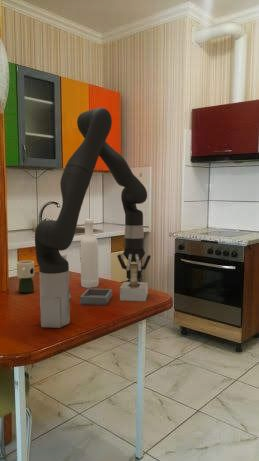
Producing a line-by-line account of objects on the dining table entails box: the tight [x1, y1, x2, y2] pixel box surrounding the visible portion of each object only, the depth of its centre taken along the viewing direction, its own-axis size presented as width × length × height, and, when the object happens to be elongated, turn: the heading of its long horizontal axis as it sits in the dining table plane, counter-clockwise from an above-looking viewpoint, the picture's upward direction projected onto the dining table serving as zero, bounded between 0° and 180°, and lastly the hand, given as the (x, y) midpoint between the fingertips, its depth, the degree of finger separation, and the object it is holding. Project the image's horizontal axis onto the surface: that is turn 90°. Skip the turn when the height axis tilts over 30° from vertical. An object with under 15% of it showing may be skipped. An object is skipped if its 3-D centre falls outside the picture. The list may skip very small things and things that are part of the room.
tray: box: [79, 288, 113, 306], centre depth 145 cm, size 12×10×3 cm
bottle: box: [79, 218, 100, 289], centre depth 167 cm, size 8×8×30 cm
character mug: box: [16, 260, 36, 294], centre depth 157 cm, size 11×7×13 cm, turn 5°
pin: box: [129, 263, 139, 287], centre depth 149 cm, size 4×4×12 cm
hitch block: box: [119, 281, 149, 302], centre depth 149 cm, size 10×10×5 cm
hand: (134, 279), depth 149 cm, fingers closed on pin, 3 cm apart
